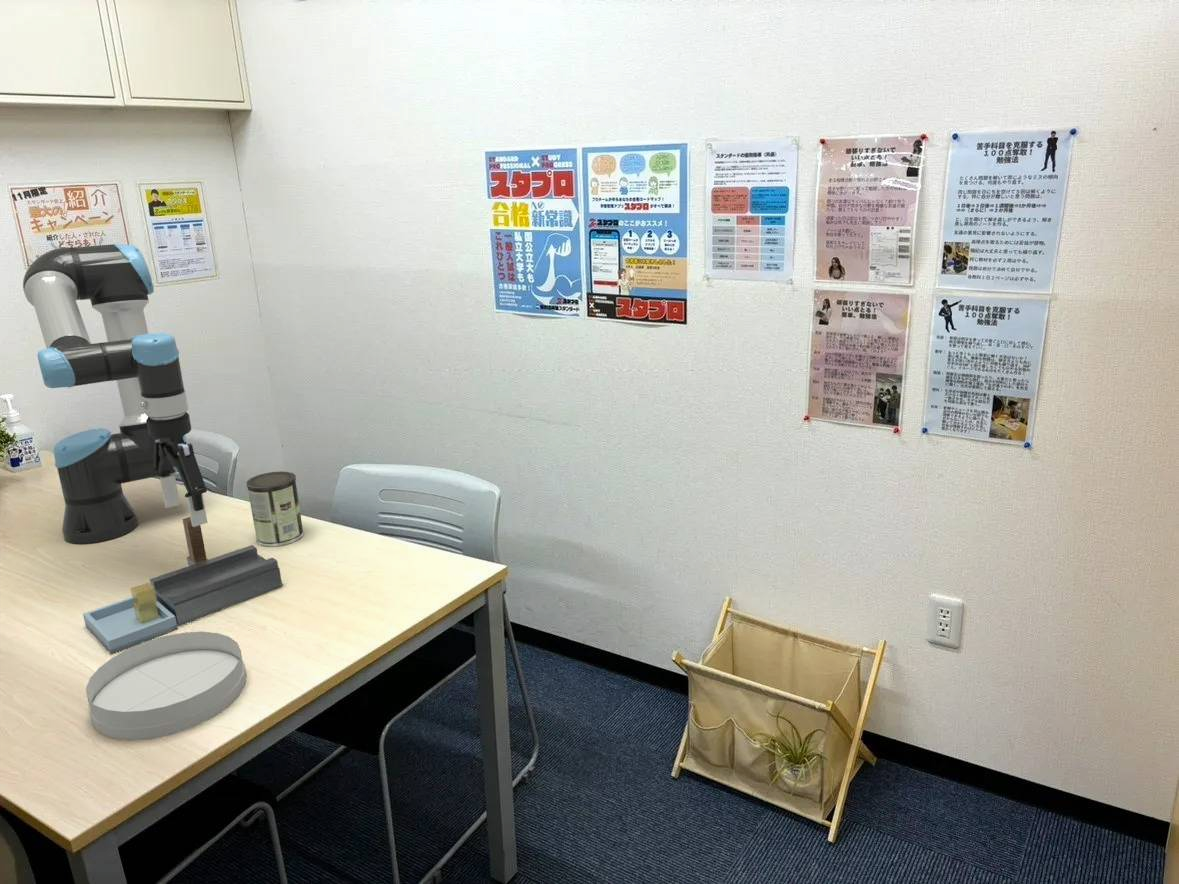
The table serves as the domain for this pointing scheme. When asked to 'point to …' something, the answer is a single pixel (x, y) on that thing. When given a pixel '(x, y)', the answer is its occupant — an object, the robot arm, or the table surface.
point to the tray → (126, 625)
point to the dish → (165, 685)
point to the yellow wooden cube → (146, 613)
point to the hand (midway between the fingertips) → (186, 515)
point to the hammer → (194, 542)
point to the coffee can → (275, 508)
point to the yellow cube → (143, 595)
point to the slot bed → (216, 583)
